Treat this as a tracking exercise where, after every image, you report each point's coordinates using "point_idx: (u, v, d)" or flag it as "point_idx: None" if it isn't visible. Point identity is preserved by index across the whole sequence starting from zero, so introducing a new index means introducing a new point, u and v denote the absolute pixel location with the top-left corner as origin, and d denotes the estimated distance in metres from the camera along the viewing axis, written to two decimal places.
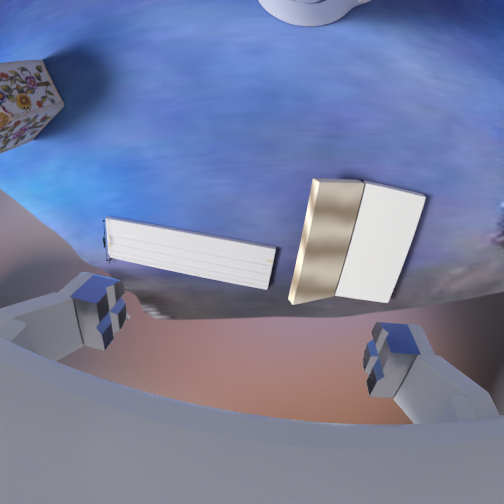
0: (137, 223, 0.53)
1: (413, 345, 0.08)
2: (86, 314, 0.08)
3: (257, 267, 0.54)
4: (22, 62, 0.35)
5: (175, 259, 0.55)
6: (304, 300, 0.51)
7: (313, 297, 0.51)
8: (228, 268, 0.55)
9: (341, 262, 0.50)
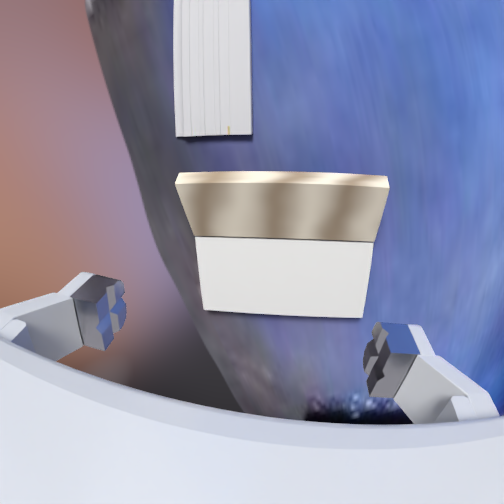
0: None
1: (413, 345, 0.08)
2: (86, 314, 0.08)
3: (212, 113, 0.31)
4: None
5: None
6: (184, 198, 0.32)
7: (190, 209, 0.33)
8: (200, 71, 0.30)
9: (253, 234, 0.35)
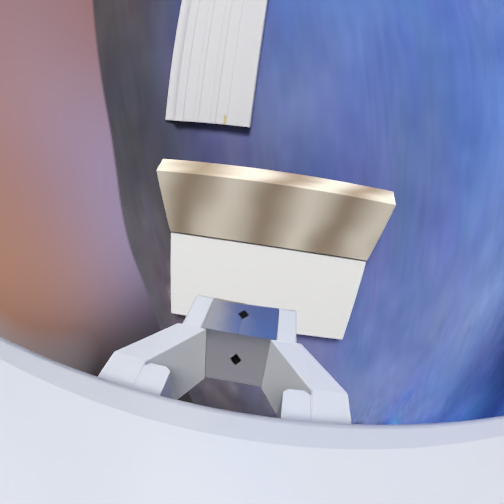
0: None
1: (272, 329, 0.08)
2: (220, 345, 0.08)
3: (210, 98, 0.28)
4: None
5: None
6: (164, 188, 0.27)
7: (170, 202, 0.29)
8: (203, 51, 0.26)
9: (235, 237, 0.31)
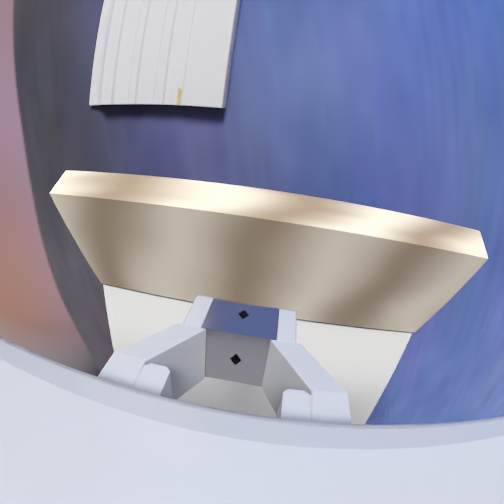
0: None
1: (272, 329, 0.08)
2: (220, 345, 0.08)
3: (154, 63, 0.14)
4: None
5: None
6: (70, 222, 0.14)
7: (85, 243, 0.16)
8: None
9: None
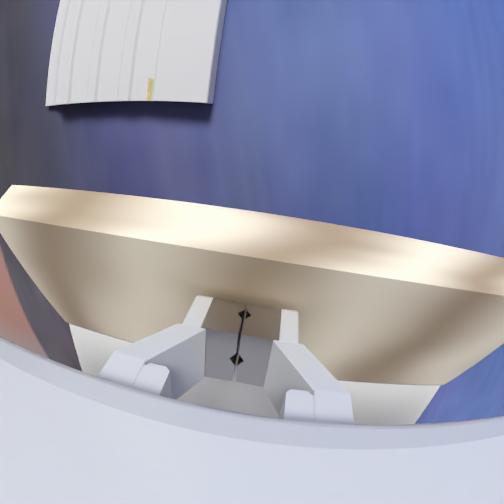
0: None
1: (274, 330, 0.08)
2: (220, 345, 0.08)
3: (119, 46, 0.10)
4: None
5: None
6: (17, 251, 0.10)
7: (38, 277, 0.11)
8: None
9: None
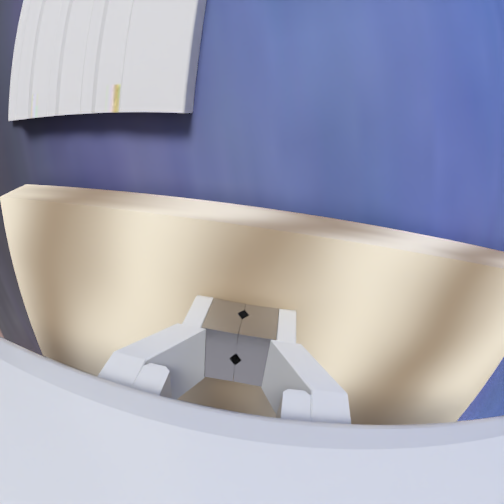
0: None
1: (272, 329, 0.08)
2: (220, 345, 0.08)
3: (81, 48, 0.08)
4: None
5: None
6: (15, 247, 0.10)
7: (27, 285, 0.11)
8: None
9: None
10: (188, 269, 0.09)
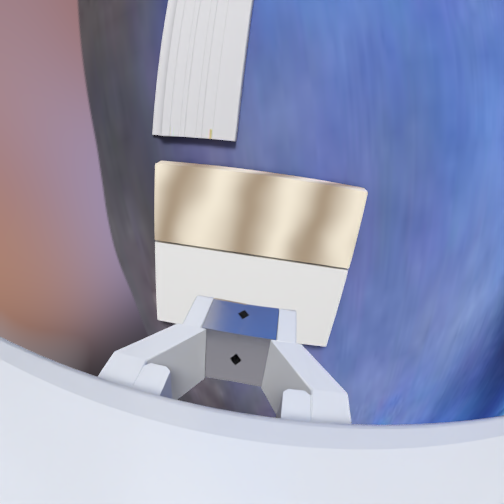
0: None
1: (272, 329, 0.08)
2: (220, 345, 0.08)
3: (195, 113, 0.28)
4: None
5: None
6: (158, 184, 0.30)
7: (160, 201, 0.31)
8: (188, 65, 0.26)
9: (218, 245, 0.32)
10: (234, 188, 0.29)
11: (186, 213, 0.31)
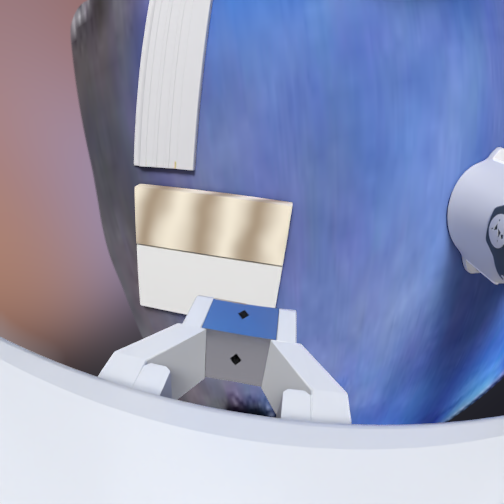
0: None
1: (272, 329, 0.08)
2: (220, 345, 0.08)
3: (163, 149, 0.38)
4: None
5: (162, 41, 0.32)
6: (137, 202, 0.40)
7: (139, 214, 0.41)
8: (157, 112, 0.36)
9: (182, 247, 0.42)
10: (191, 205, 0.39)
11: (158, 223, 0.41)
